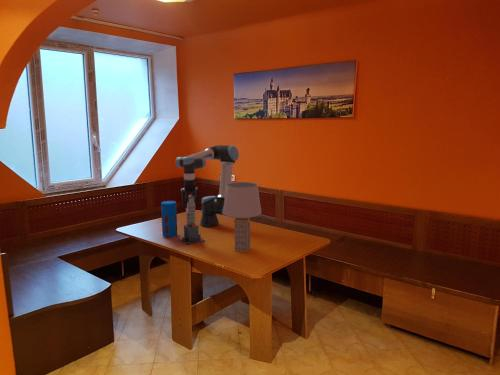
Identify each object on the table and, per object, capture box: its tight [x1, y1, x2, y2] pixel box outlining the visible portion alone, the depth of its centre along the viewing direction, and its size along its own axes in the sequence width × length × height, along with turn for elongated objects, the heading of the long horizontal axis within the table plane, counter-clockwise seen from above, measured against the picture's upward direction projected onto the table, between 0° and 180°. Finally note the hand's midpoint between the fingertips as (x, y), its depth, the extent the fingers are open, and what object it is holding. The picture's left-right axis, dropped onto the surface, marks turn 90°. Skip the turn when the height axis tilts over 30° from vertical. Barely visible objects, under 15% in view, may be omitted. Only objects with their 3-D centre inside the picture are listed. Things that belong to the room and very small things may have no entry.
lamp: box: [222, 181, 262, 253], centre depth 254 cm, size 25×25×44 cm
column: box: [186, 194, 196, 227], centre depth 273 cm, size 5×5×23 cm
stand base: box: [177, 223, 206, 246], centre depth 275 cm, size 14×14×13 cm
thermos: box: [160, 200, 178, 239], centre depth 286 cm, size 11×11×25 cm
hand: (190, 212), depth 273 cm, fingers closed on column, 4 cm apart
